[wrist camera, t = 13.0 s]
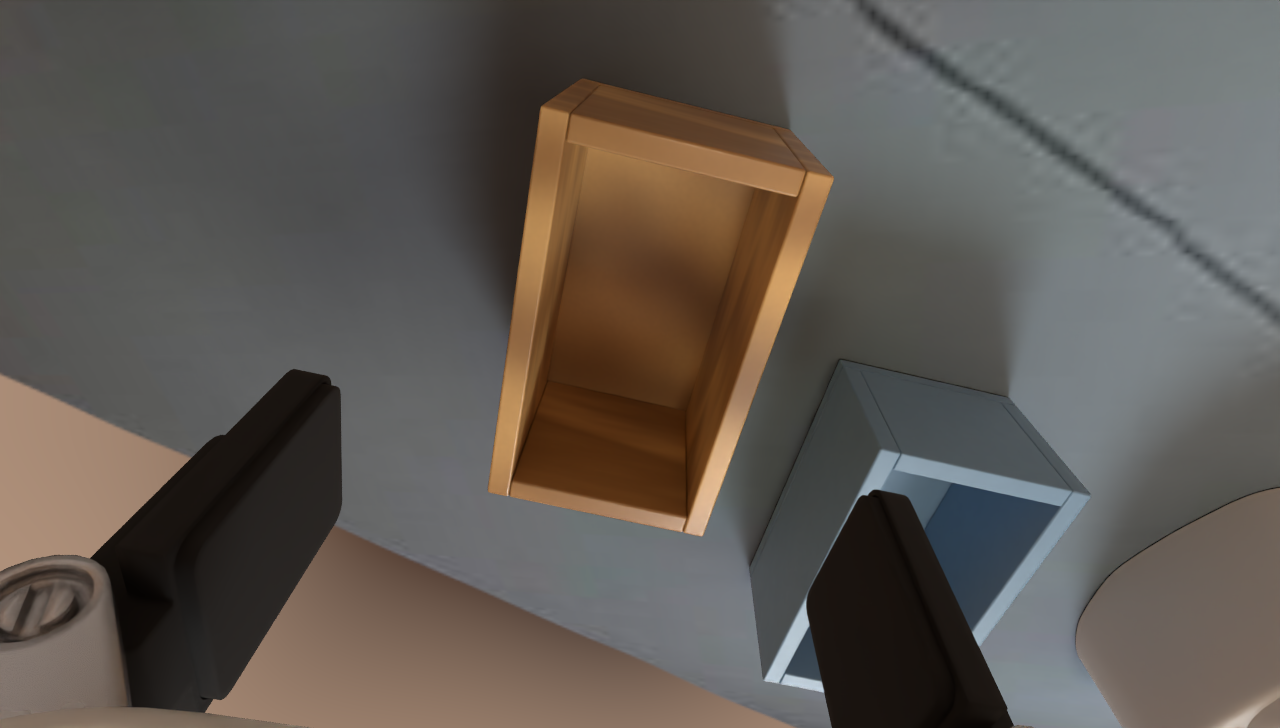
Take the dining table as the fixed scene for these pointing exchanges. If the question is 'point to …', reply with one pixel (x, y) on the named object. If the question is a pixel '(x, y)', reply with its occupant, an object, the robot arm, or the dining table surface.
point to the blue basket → (936, 486)
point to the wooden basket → (646, 301)
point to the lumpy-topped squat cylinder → (1193, 625)
